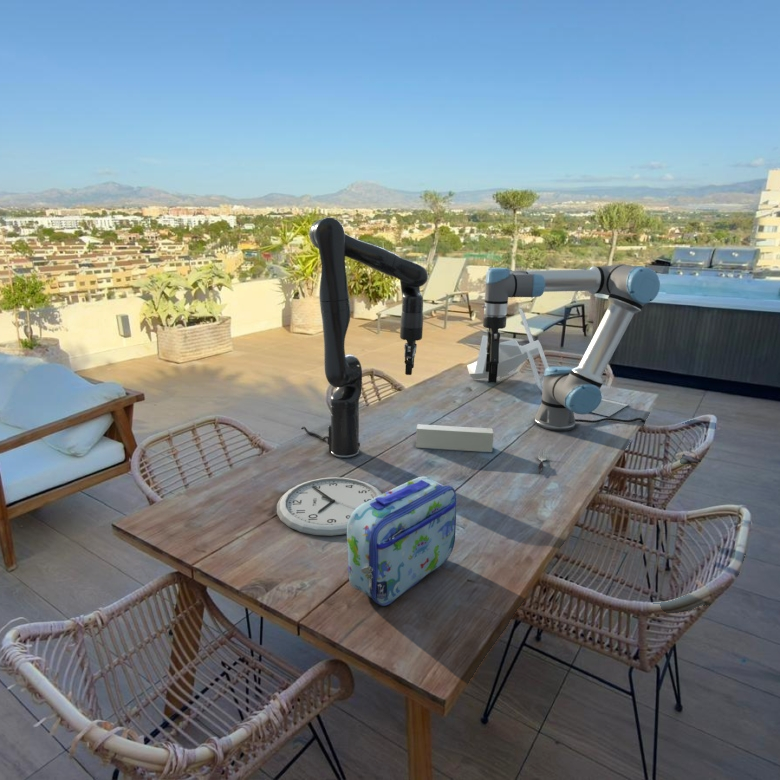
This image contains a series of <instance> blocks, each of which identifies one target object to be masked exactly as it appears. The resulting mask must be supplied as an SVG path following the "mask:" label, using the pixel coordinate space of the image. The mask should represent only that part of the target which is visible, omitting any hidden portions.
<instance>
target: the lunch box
mask: <svg viewBox="0 0 780 780" xmlns="http://www.w3.org/2000/svg"><path fill="white" fill-rule="evenodd" d="M456 524H457V494H456V490H455V488H454V487H453V486H451V485H444V484H441V483H440V482H438V481H436V480H434V479H432V478H431V477H428V476H422V475H421V476H419V477H416V478H413V479H411V480H408V481H407V482H404V483H402V484H400V485H398V486H396V487H394V488H392V489H390V490H388V491H386V492H383V494H381V495H380V496H378V497H376V498H374V499H372V500H370V501H368V502H365V503H363V504H362V505H360V506H358V507H357V508H356V509H355V510H354V511H353V513H352V514H351V516H350V518H349V521H348V525H347V534H346V545H347V546H346V548H347V570H348V572H347V573H348V581H349V583H350V585H351V587H353V588H354V589H356V590H358V591H361V592H362V593H364V594H365V595H366V596H368V597H369V598H371V599H372V601H373V602H374V603H375V604H378V605H379V606H383V607H386V606H388V605H390V604H392V603H394V601H396V600H397V599H398V598H399V597H400V596H402V595H403V594H404V593H406V592H407V591H408V590H410V589H411V588H413V587H414V586H415V585H417V584H418V583H419V582H421V580H422V579H424V577H426V576H427V575H430V573H432V572H434V571H435V570H436V569H438V568H440V567H441V566H442V565H444V563H446V562H447V561H448V559H449V558H450V556H451V554H452V552H453V549H454V546H455V542H456V529H457V525H456Z"/></svg>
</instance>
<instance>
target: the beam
mask: <svg viewBox="0 0 780 780" xmlns="http://www.w3.org/2000/svg"><path fill="white" fill-rule="evenodd" d="M494 435H495V434H494V429H493V428H488V427H474V426H473V427H471V426H454V425H438V424H436V425H435V424H422V423H421V424H419V423H417V425H416V436H415V437H416V440H415V448H419V449H433V450H447V451H448V450H450V451H465V452H478V453H479V452H480V453H482V452H483V453H493V445H494Z"/></svg>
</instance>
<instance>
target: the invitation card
mask: <svg viewBox="0 0 780 780" xmlns="http://www.w3.org/2000/svg"><path fill="white" fill-rule="evenodd" d="M628 406H629V404H627V403H623V402H618V401H614V400H609V399H605V398H602V399H601V402H600V404H599V406H598V407H597V408H596V409H595V410H594V411H592V412H591V413H593V414H596V415H600V416H604V417H607V418H610V417H611V416H613V415H614V414H616V413H617V412H619V411H621V410H623V409H624V408H626V407H628Z"/></svg>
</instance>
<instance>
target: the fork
mask: <svg viewBox="0 0 780 780" xmlns="http://www.w3.org/2000/svg"><path fill="white" fill-rule="evenodd" d="M547 458H548V451H546V450H544V449H542V451H541V449H540V450H539V454H538V460H539V461H540V463H539V464H538V474H541V472H542V469H543V467H544V465H543V464H544V463H543V462H544V461H546V460H547Z"/></svg>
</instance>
